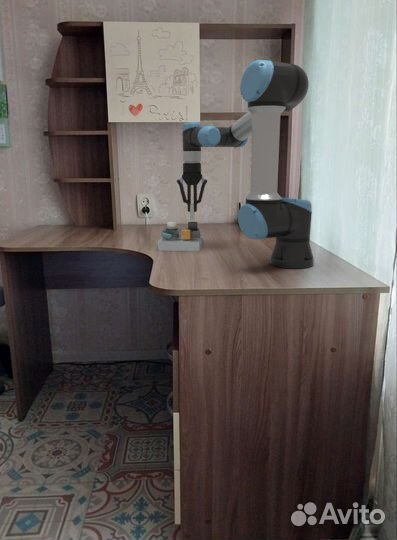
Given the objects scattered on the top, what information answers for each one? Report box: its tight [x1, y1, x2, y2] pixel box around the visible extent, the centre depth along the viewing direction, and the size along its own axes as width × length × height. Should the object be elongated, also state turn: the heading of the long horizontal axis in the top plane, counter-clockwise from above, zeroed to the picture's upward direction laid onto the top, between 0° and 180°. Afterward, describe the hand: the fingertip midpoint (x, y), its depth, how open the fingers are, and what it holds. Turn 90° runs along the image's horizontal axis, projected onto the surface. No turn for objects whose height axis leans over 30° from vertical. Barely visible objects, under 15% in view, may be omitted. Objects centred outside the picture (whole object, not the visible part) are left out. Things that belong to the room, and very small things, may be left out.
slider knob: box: [181, 229, 191, 239], centre depth 175 cm, size 3×3×4 cm
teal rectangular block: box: [160, 233, 172, 239], centre depth 176 cm, size 2×4×1 cm, turn 84°
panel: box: [157, 227, 204, 252], centre depth 179 cm, size 15×17×7 cm
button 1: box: [166, 220, 178, 230], centre depth 182 cm, size 4×4×3 cm
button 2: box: [187, 221, 198, 230], centre depth 181 cm, size 4×4×3 cm
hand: (192, 219), depth 181 cm, fingers closed
